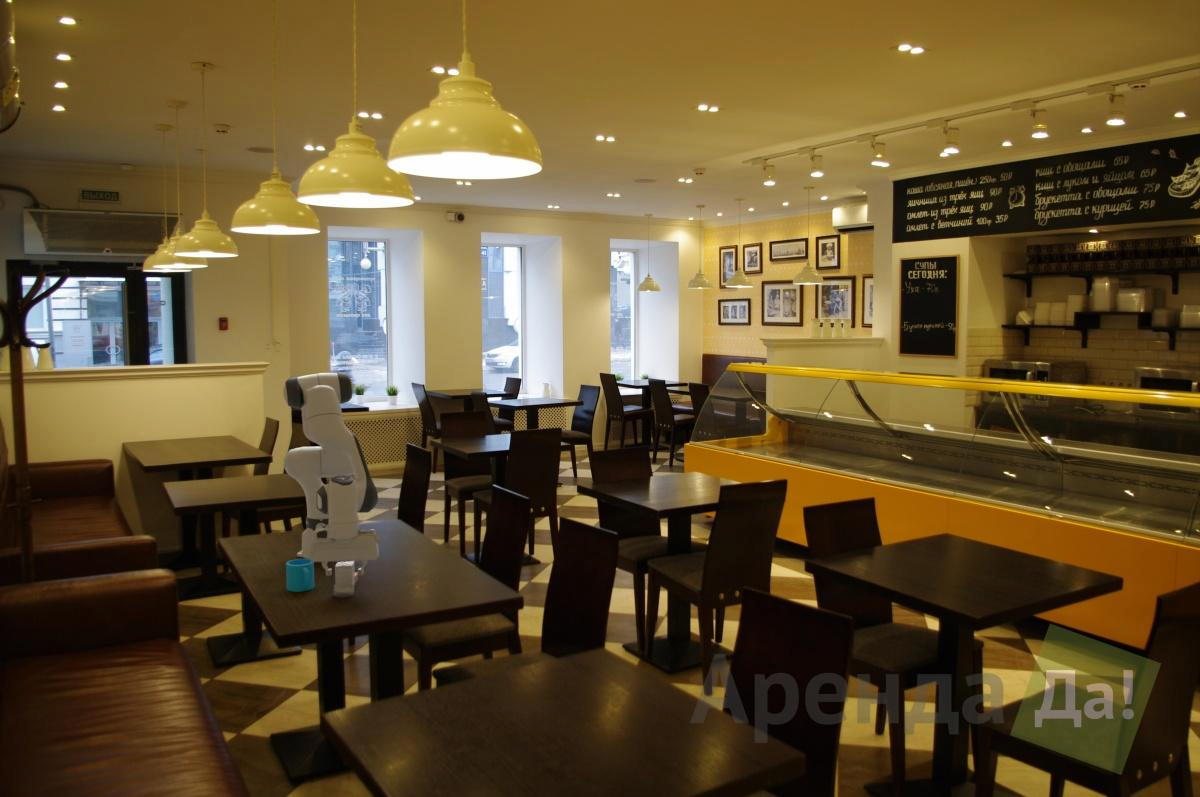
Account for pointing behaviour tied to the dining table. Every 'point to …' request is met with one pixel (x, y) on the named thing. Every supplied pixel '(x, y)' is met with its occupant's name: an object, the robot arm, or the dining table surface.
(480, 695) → the dining table surface
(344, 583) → the brushed steel block
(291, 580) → the mug
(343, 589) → the ratchet
